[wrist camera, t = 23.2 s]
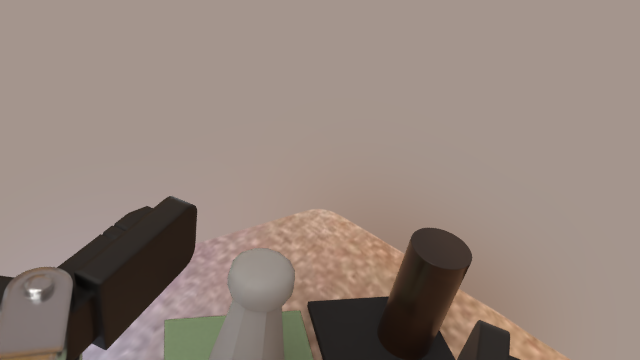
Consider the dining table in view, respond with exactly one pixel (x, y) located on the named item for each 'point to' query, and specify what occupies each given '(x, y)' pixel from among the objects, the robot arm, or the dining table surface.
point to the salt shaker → (255, 307)
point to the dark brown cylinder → (423, 292)
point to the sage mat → (201, 333)
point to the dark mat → (358, 330)
